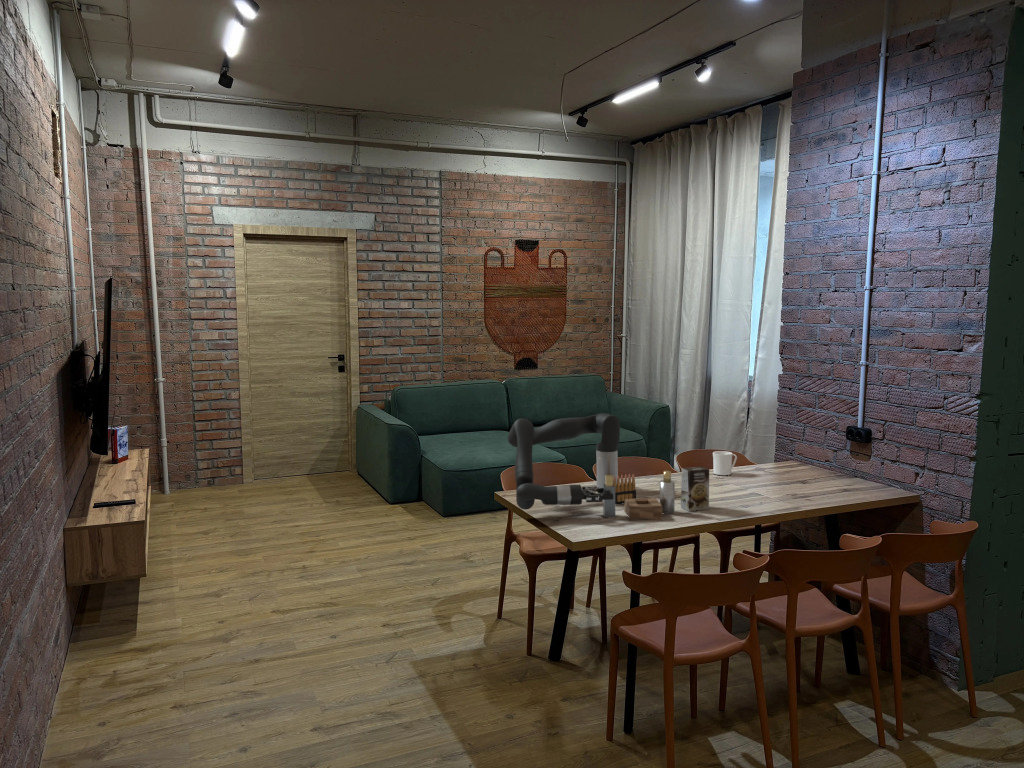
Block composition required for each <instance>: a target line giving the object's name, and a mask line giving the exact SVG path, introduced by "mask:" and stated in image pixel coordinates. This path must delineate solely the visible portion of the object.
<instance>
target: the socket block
mask: <svg viewBox="0 0 1024 768" xmlns="http://www.w3.org/2000/svg"><path fill="white" fill-rule="evenodd" d="M624 512H626V513H625V514H626V516H627V515H628V516H629V517H628V516H627V517H628V519H629V518H630V519H629V520H630V521H634V520H633V519H653V520H663V514H662V505H661V504H660V501H658V499H657V498H656V497H646V498H645V497H641V498H639V497H638V498H637V497H636V499H625V504H624Z"/></svg>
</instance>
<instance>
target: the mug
mask: <svg viewBox="0 0 1024 768" xmlns="http://www.w3.org/2000/svg"><path fill="white" fill-rule="evenodd" d="M733 456H734V457H735V458H734V460H733ZM712 459H713V461H712V462H713V463H712V464H713V475H714V476H716V475H717V477H728V476H727V475H730V476H731V475H732V470H733V468H734V467H735V464H736V462H737V459H738V456H737V455H736V454H735V453H733V452H731V451H728V450H726V451H725V450H724V451H723V450H718V451H717V450H715V451H713V452H712Z"/></svg>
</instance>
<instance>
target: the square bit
mask: <svg viewBox="0 0 1024 768" xmlns="http://www.w3.org/2000/svg"><path fill="white" fill-rule="evenodd" d="M606 493H612V494H613V499H612V500H603V501H602V507H603V508H602V510H603V511H602V512H603V513H602V514H603V517H604V516H605V517H615V518H616V505H615V486H614V484H613V476H612V474H607V475H605V484H603V494H606ZM605 517H604V518H605Z"/></svg>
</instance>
